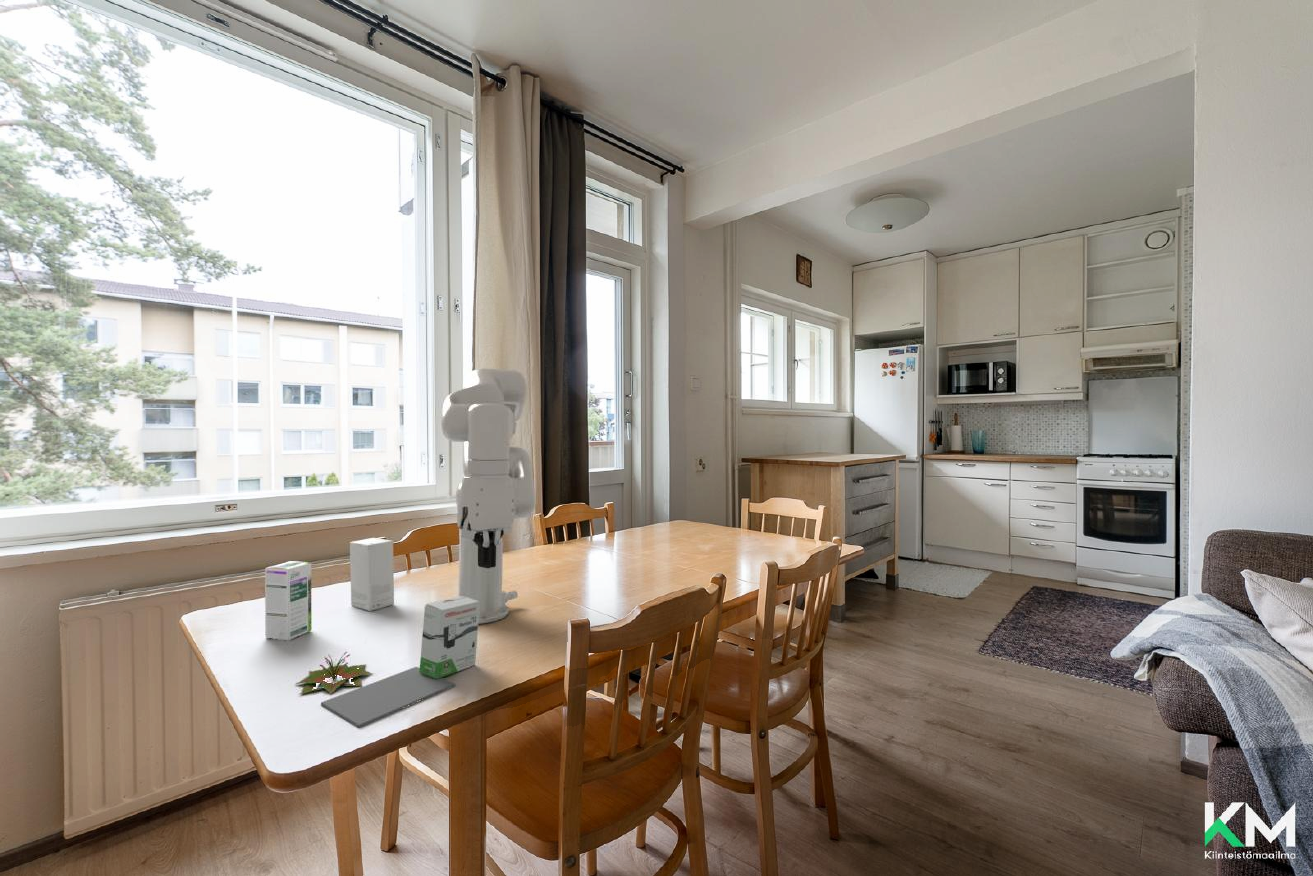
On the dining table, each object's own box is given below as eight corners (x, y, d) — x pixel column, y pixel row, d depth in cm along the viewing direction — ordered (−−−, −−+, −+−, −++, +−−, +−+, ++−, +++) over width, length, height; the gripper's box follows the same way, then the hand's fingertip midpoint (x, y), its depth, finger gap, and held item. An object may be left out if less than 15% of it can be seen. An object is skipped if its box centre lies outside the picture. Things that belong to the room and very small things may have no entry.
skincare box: (394, 605, 133) (395, 540, 132) (367, 612, 127) (368, 545, 127) (374, 598, 137) (375, 536, 137) (348, 605, 132) (348, 540, 131)
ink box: (436, 680, 93) (440, 609, 93) (417, 673, 96) (422, 603, 96) (477, 665, 100) (481, 599, 101) (459, 658, 103) (463, 594, 103)
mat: (416, 668, 98) (416, 666, 98) (455, 686, 92) (455, 683, 92) (320, 705, 85) (321, 702, 85) (359, 727, 79) (359, 725, 79)
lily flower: (300, 673, 97) (300, 647, 97) (376, 662, 101) (377, 638, 101) (285, 705, 86) (285, 676, 86) (371, 692, 90) (372, 664, 90)
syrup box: (288, 641, 109) (289, 568, 109) (263, 638, 110) (264, 566, 110) (312, 631, 115) (313, 562, 115) (288, 628, 116) (288, 560, 116)
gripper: (505, 467, 112) (504, 557, 112) (441, 469, 100) (439, 571, 100) (531, 468, 108) (530, 562, 108) (467, 471, 96) (466, 577, 96)
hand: (486, 566), depth 104 cm, fingers closed
